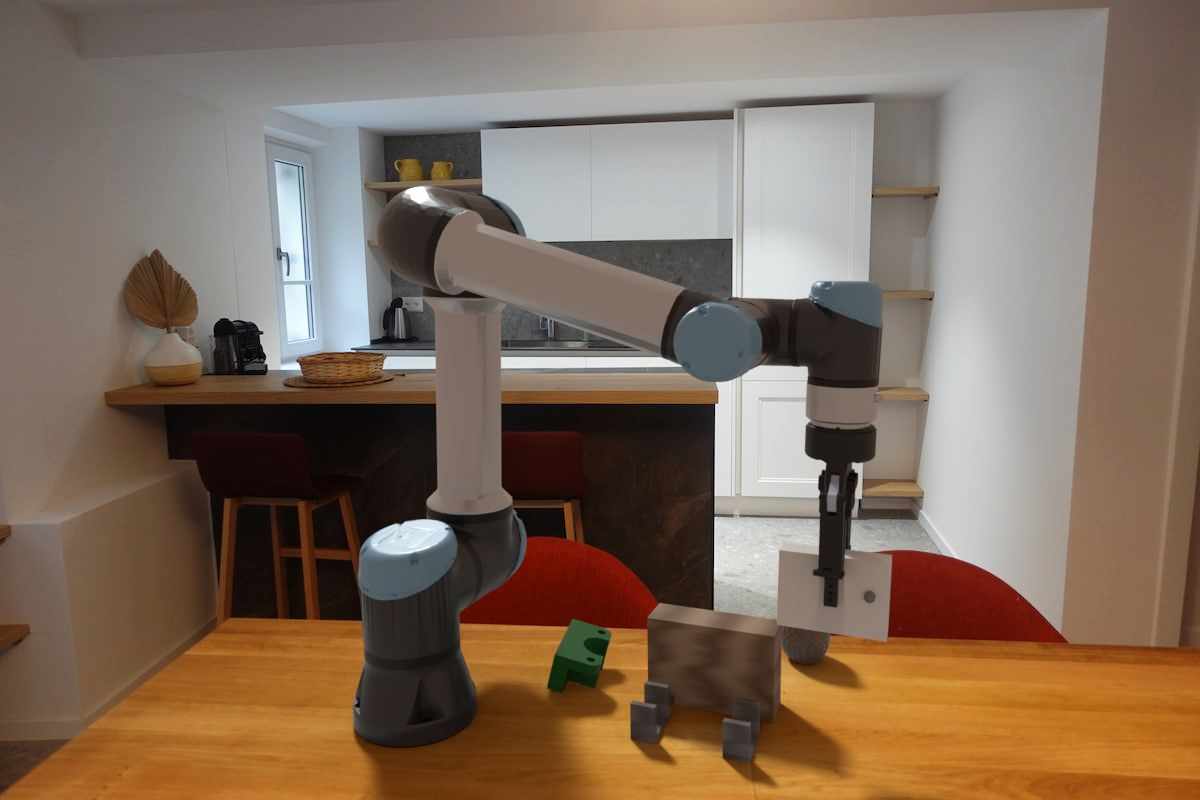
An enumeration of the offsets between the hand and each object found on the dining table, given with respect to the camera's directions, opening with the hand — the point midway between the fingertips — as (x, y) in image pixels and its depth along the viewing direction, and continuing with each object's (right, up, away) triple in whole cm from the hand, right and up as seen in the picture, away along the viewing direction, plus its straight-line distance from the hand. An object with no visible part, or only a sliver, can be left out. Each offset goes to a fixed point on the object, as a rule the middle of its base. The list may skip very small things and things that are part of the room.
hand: (831, 623), depth 93 cm
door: (0, -1, 0) cm, 0 cm away
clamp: (-29, -12, +18) cm, 36 cm away
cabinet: (-14, -13, +7) cm, 20 cm away
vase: (+2, -11, +22) cm, 25 cm away
